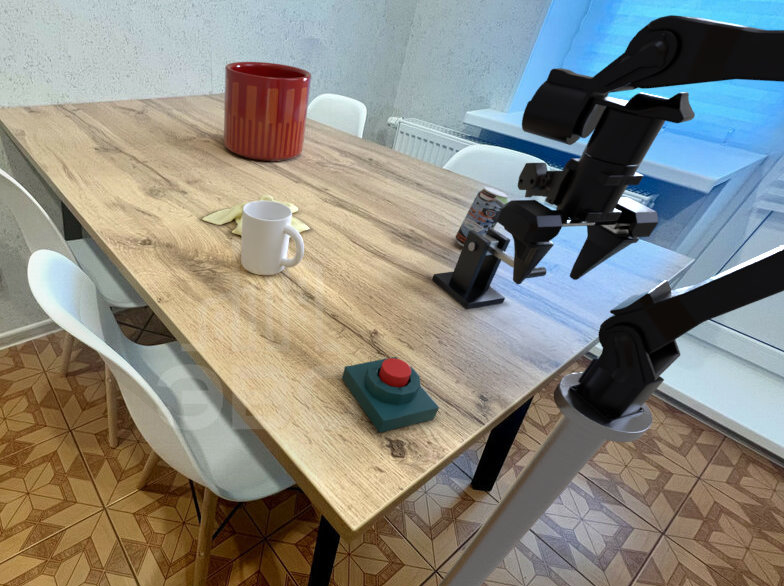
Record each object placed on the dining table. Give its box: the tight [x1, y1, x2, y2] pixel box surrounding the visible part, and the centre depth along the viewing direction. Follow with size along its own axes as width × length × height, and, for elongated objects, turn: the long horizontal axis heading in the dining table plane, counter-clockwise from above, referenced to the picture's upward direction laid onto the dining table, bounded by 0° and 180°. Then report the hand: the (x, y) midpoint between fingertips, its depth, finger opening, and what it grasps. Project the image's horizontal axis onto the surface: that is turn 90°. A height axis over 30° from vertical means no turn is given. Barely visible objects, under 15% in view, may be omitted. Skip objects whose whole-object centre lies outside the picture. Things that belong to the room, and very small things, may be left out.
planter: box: [223, 61, 312, 162], centre depth 129 cm, size 23×23×20 cm
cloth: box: [201, 194, 311, 239], centre depth 96 cm, size 22×19×6 cm
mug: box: [240, 200, 305, 276], centre depth 80 cm, size 12×8×10 cm
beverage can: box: [455, 186, 509, 247], centre depth 94 cm, size 6×7×12 cm
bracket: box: [431, 228, 511, 310], centre depth 80 cm, size 10×8×11 cm
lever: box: [482, 235, 547, 280], centre depth 74 cm, size 12×5×2 cm, turn 20°
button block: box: [341, 356, 440, 434], centre depth 59 cm, size 10×8×4 cm
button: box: [379, 357, 411, 388], centre depth 57 cm, size 4×4×2 cm
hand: (545, 280), depth 61 cm, fingers open, 9 cm apart
